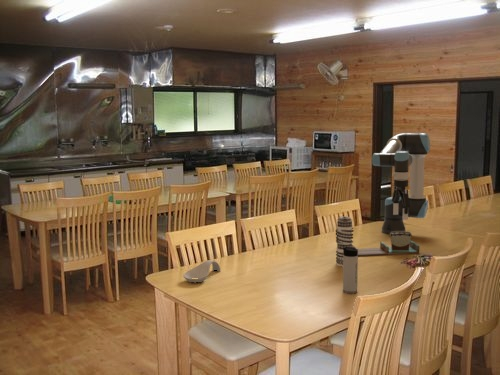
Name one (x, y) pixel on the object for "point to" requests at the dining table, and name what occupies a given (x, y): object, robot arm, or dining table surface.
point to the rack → (387, 250)
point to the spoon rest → (201, 271)
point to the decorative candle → (343, 237)
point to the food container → (400, 240)
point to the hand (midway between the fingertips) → (400, 217)
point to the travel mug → (350, 270)
